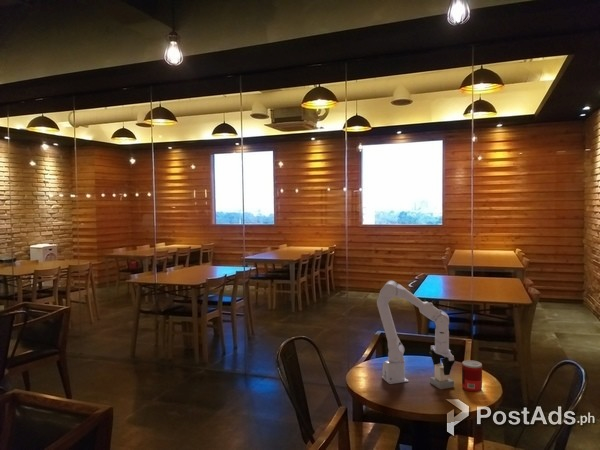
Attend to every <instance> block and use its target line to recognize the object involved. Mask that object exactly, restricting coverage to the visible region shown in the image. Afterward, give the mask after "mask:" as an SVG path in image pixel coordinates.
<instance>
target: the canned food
mask: <svg viewBox="0 0 600 450" xmlns="http://www.w3.org/2000/svg"><path fill="white" fill-rule="evenodd" d="M461 387H462V389H463V390H464V391H467V392H471V393H479V392H481V391H482V389H483V364H482V362H480V361H477V360H472V359H471V360H470V359H468V360H463V361H462V363H461Z"/></svg>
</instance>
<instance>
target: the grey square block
mask: <svg viewBox="0 0 600 450" xmlns="http://www.w3.org/2000/svg"><path fill="white" fill-rule="evenodd" d="M429 380H430V381H429V382H430V384H431V385H432V386H434V387H435V388H437V389H439V390H444V389H450V388H454V387H455V381H454V380H453V379H451V378H450V377H448V380H445V381H439V380H437V379H436V378H435V376H431V377H430V378H429Z"/></svg>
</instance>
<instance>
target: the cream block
mask: <svg viewBox="0 0 600 450" xmlns="http://www.w3.org/2000/svg"><path fill="white" fill-rule="evenodd" d="M434 367H435V368H434ZM433 368H434V377H435V378H436V379H437V380H439V381H445V380H448V378H449V375H444V367H443V363H442V362H440V364H435V365H434V364H433Z"/></svg>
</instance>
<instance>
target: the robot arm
mask: <svg viewBox="0 0 600 450" xmlns="http://www.w3.org/2000/svg"><path fill="white" fill-rule="evenodd" d="M394 297H395V299H401V298H402V299H404V300H406V301H407V302H409V303H411V305H414V306H415V307H416V308H418V310H419V313H420V314H422V315H423V316H425V318H427V319H429V320H430V321H432V322H434V324H435V329H434V345H430V351H429V352H428V353H429V355H430V357H431V361H432V364H433V368H434V369H435V367H434V365H435V364H440V363H443V367H444V375H448V376H450V374H451V370H452V368H453V365H454V364H455V362H456V359H455V357H454V355H453V354H452V353H451V351H452V350H451V349H450V331H449V330H450V329H449V328H450V327H449V326H450V317H449V315H448V313H447V312H446V311H444V310H442V309H438V308H437V307H436V306H434V303H432V302H429V301H422V299H420V298H418V297H417V295H415V294H413V293H412V292H411V291H409V290H408V289H407V288H405V287H404V286H403V285H401V284H400V283H397V282H396V281H394V280H388V281H386V283H385V284H384V285H383V287H382V288H381V289H380V290H379V294H378V297H377V300H376V306H377V309H378V312H379V316H380V320H381V323H382V327H383V331H384V333H385V337H386V340H387V349H388V353H387V357H388V358H387V360H385V361H383V362H382V372H381V374H382V376H381V378H382V379H383V380H384V381H385V382H386V383H388V384H390V385H393V384H400V383H406V382H407V383H408V382H409V379H407V378H406V375H405V372H406V371H405V370H406V369H405V367H406V363H405V357H404V353H405V352H406V351H405V346H404V345H403V343H402V342H401V340H400V338H399V337H398V334H397V329H396V326H395V321H394V320H393V319H394V318H393V316H392V313H391V309H390V305H389V303H390V301H391V299H393V298H394ZM441 357H444V358H441Z"/></svg>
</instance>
